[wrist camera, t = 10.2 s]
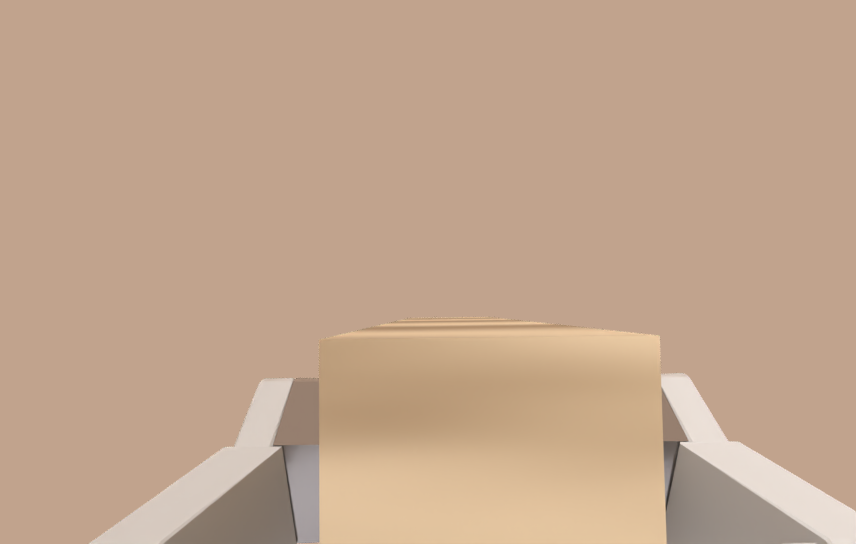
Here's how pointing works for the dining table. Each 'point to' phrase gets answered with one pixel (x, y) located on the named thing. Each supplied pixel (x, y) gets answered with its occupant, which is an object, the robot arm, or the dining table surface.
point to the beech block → (490, 434)
